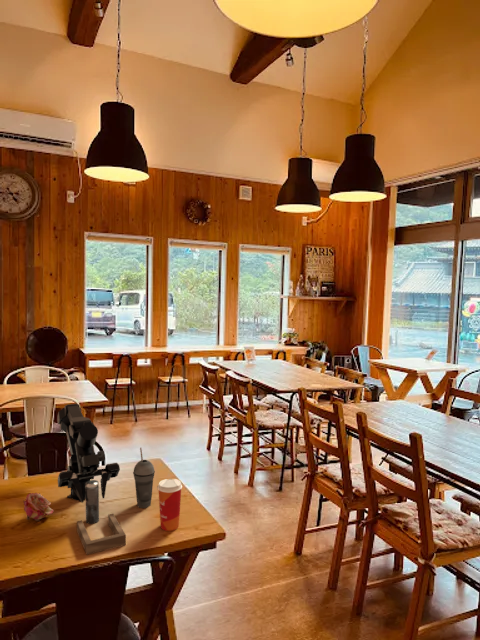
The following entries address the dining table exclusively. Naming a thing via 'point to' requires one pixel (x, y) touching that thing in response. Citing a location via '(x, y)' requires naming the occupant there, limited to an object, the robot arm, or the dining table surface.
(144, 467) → the beverage cup
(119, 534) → the frame
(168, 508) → the paper cup
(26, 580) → the dining table surface
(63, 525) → the dining table surface
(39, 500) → the flower
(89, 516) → the pepper mill
